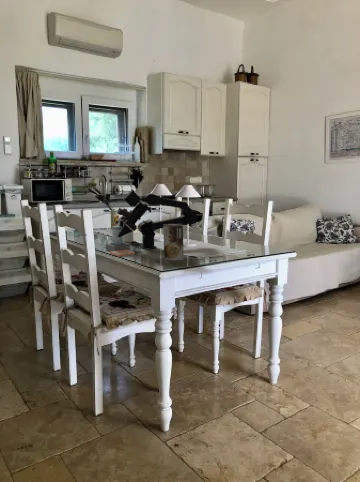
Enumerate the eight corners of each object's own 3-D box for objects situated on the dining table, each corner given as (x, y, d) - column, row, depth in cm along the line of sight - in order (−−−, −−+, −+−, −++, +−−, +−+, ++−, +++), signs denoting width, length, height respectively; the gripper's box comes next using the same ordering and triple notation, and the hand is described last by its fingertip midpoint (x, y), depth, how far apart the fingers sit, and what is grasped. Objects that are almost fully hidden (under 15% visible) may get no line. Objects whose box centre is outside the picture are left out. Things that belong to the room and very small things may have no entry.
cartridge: (124, 249, 212) (123, 226, 209) (116, 251, 208) (115, 227, 206) (119, 248, 215) (118, 225, 213) (111, 249, 212) (110, 226, 210)
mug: (130, 239, 240) (130, 219, 237) (135, 241, 234) (135, 220, 232) (114, 241, 234) (114, 220, 232) (119, 243, 229) (118, 221, 226)
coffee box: (183, 257, 194) (182, 223, 191) (183, 260, 188) (183, 225, 185) (163, 257, 194) (163, 223, 191) (163, 260, 188) (163, 225, 184)
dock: (140, 253, 204) (140, 247, 203) (119, 256, 196) (118, 250, 195) (120, 247, 218) (120, 241, 218) (99, 250, 210) (99, 244, 210)
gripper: (123, 200, 217) (102, 222, 216) (129, 203, 200) (107, 227, 199) (138, 214, 221) (118, 236, 220) (145, 219, 204) (124, 242, 203)
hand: (116, 235), depth 210 cm, fingers open, 9 cm apart
